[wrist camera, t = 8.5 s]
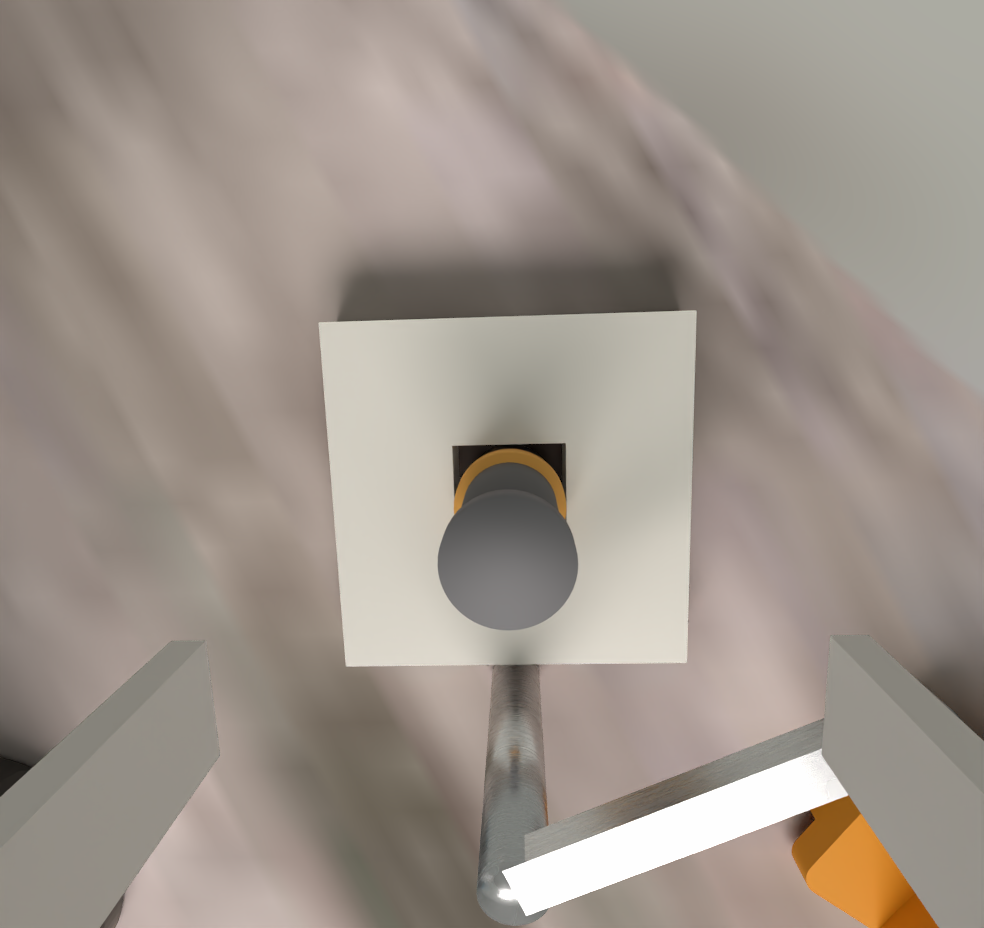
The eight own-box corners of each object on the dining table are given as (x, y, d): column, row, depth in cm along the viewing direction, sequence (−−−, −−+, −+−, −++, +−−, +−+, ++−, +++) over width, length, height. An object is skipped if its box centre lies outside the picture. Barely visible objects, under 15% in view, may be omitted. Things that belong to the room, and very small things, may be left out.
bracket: (912, 694, 36) (1107, 878, 24) (1020, 767, 36) (1262, 983, 24) (778, 842, 38) (896, 1080, 26) (882, 909, 38) (1045, 1172, 26)
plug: (463, 531, 35) (437, 634, 23) (459, 436, 34) (430, 495, 22) (560, 530, 34) (581, 632, 23) (559, 434, 33) (580, 492, 22)
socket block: (360, 638, 36) (345, 666, 33) (336, 322, 33) (318, 322, 30) (672, 634, 35) (686, 662, 32) (680, 311, 32) (696, 310, 29)
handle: (484, 663, 36) (464, 877, 22) (774, 540, 34) (949, 689, 20) (504, 702, 36) (496, 935, 22) (792, 582, 34) (975, 756, 21)
